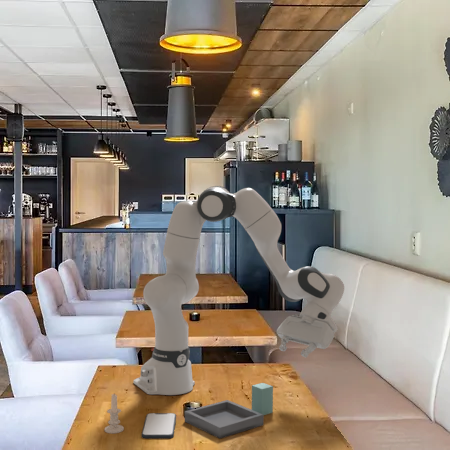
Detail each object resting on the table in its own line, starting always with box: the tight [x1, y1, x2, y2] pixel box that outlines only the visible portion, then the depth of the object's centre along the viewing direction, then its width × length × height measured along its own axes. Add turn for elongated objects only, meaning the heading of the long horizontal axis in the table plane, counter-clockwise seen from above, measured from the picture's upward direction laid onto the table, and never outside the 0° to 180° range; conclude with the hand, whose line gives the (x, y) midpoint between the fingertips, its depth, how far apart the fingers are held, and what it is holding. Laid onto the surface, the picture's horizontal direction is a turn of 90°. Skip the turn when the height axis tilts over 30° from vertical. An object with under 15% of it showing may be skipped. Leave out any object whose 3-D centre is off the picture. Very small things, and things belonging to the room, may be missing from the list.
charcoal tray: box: [184, 399, 265, 440], centre depth 172 cm, size 16×16×3 cm
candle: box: [104, 393, 125, 434], centre depth 166 cm, size 5×5×10 cm
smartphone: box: [141, 412, 177, 440], centre depth 168 cm, size 9×2×16 cm
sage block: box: [251, 382, 274, 416], centre depth 181 cm, size 4×4×8 cm
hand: (292, 352), depth 189 cm, fingers open, 8 cm apart
